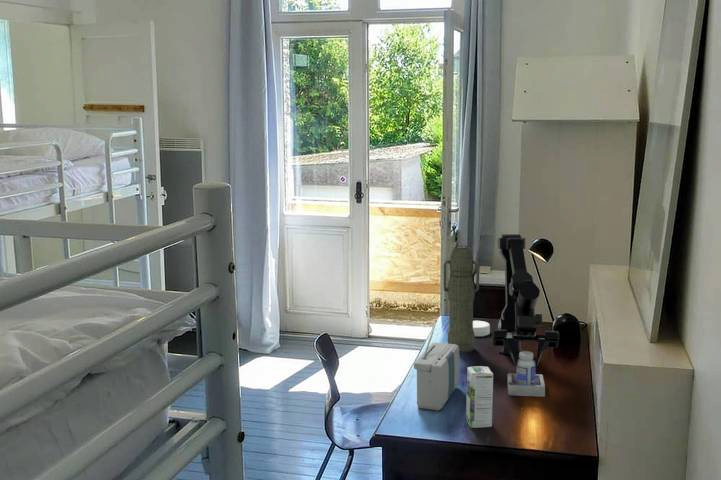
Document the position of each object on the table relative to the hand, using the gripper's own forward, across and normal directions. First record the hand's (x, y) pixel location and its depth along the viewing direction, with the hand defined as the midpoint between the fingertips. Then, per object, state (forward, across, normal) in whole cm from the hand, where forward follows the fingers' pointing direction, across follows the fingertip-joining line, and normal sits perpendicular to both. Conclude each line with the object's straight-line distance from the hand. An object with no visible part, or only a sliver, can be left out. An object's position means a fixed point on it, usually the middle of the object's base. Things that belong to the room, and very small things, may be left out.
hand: (526, 365), depth 220 cm
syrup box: (+23, -13, -12) cm, 29 cm away
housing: (+5, 0, +6) cm, 8 cm away
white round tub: (-34, -14, +47) cm, 60 cm away
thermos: (-21, -19, +33) cm, 43 cm away
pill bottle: (+4, 0, +6) cm, 7 cm away
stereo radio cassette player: (+11, -25, 0) cm, 27 cm away
